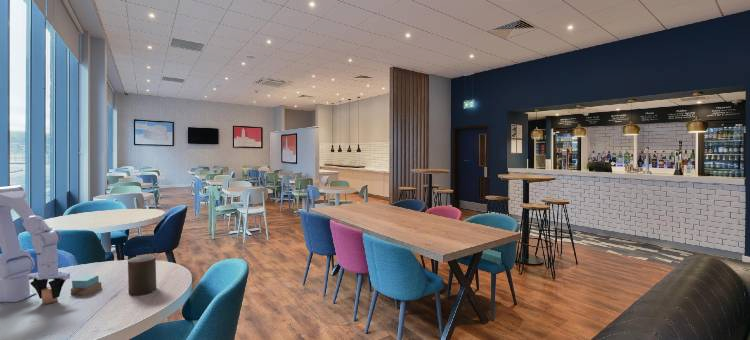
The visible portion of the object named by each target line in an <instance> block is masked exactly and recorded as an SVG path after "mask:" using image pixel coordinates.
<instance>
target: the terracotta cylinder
mask: <svg viewBox="0 0 750 340" xmlns="http://www.w3.org/2000/svg"><path fill="white" fill-rule="evenodd" d="M41 292H42V299H41V303H42V304H43V305H47V304H52V303H55V302H58V300H59V299H58V298H59V297H57V298H55V299H53V296H52V289H51V287H50V286H47V287H46V288H43V289H42V290H41Z"/></svg>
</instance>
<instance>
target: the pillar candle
mask: <svg viewBox="0 0 750 340" xmlns="http://www.w3.org/2000/svg"><path fill="white" fill-rule="evenodd" d="M156 262H157V261H156V256H155V255H139V256H135V257H131V258H129V259H128V260H127V272H128V273H127V276H128V278H127V280H128V281H127V285H128V287H127V288H128V289H127V290H128V294H129V296H143V295H144V296H145V295H148V294H151V293H153V292H155V291H156V290H157V264H156Z"/></svg>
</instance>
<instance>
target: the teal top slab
mask: <svg viewBox="0 0 750 340" xmlns="http://www.w3.org/2000/svg"><path fill="white" fill-rule="evenodd" d="M99 282H100V280H99V275H94V274H90V275H89V274H88V275H87V274H85V275H82V276H80V277H77V278H75V279H73V280H72V281H71V288H88V287H90V286H92V285H94V284H96V283H99Z"/></svg>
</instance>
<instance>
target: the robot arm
mask: <svg viewBox="0 0 750 340" xmlns="http://www.w3.org/2000/svg"><path fill="white" fill-rule="evenodd" d="M26 197H27V193H26V191H25V189H24V188H23V186H21V185H19V184H18V185H17V184H16V185H12V186H10V185H9V186H0V250H1V254H0V303H9V302H11V303H12V302H13V303H16V302H21V301H23V300H25V299H27V298H29V297H32V296H34V295H36V294H37V295H38V298H39V300H42V292H41V290H42V289H43V288H46V287H48V285H49V287H51V289H52V296H53V299H55V298H57V297H58V298H59V297H60V295H61V291H62V289H63V286H64V284H65V283H66V281H67V280H69V279H70V278H71V274H70V272H63V271H59V262H58V261H59V259H58V245H59V243H60V241H61V237H62V236H61V234H60V232H59V230H57V229H54V228H53V227H50V226H49V225H48V224H47V223H46V221H45V220H44V219H43V217H42V216H41V215H36V214H35V213H34V211H33V210H32V208H31V207H30V205H29V203H28V202H27V200H26ZM12 210H13V211H14V212H15V213H16V214H17V215H18V216H19V217H20V218H21V219H22V220H23V222H22V227H24V229H25V230H26V231H27V233H28V234H29V235H30V237H31V240H30V242H31V245H32V247H33V249H34V250H33V251H34V252H35V254H36V262H35V260H34V258H33V257H32V255H31V252H30V251H27V250H24V249H22V248H21V244H20V241H19V237H18V235H17V230H16V227H15V223H14V221H13V216H12V213H11V211H12ZM35 263H36V266H37V272H32V270H34V268H35ZM30 280H32V281H30ZM49 280H51V281H49ZM30 285H31V286H32V287H33V288H34V292H33V291H31V289H30V288H31V287H30Z"/></svg>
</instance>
